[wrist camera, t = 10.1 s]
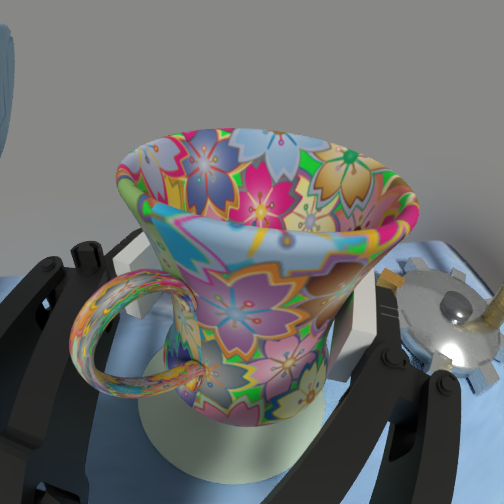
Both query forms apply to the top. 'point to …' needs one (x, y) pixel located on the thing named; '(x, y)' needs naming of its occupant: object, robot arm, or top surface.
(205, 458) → the pale green plate
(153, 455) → the top surface
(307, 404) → the mug
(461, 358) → the sprocket
